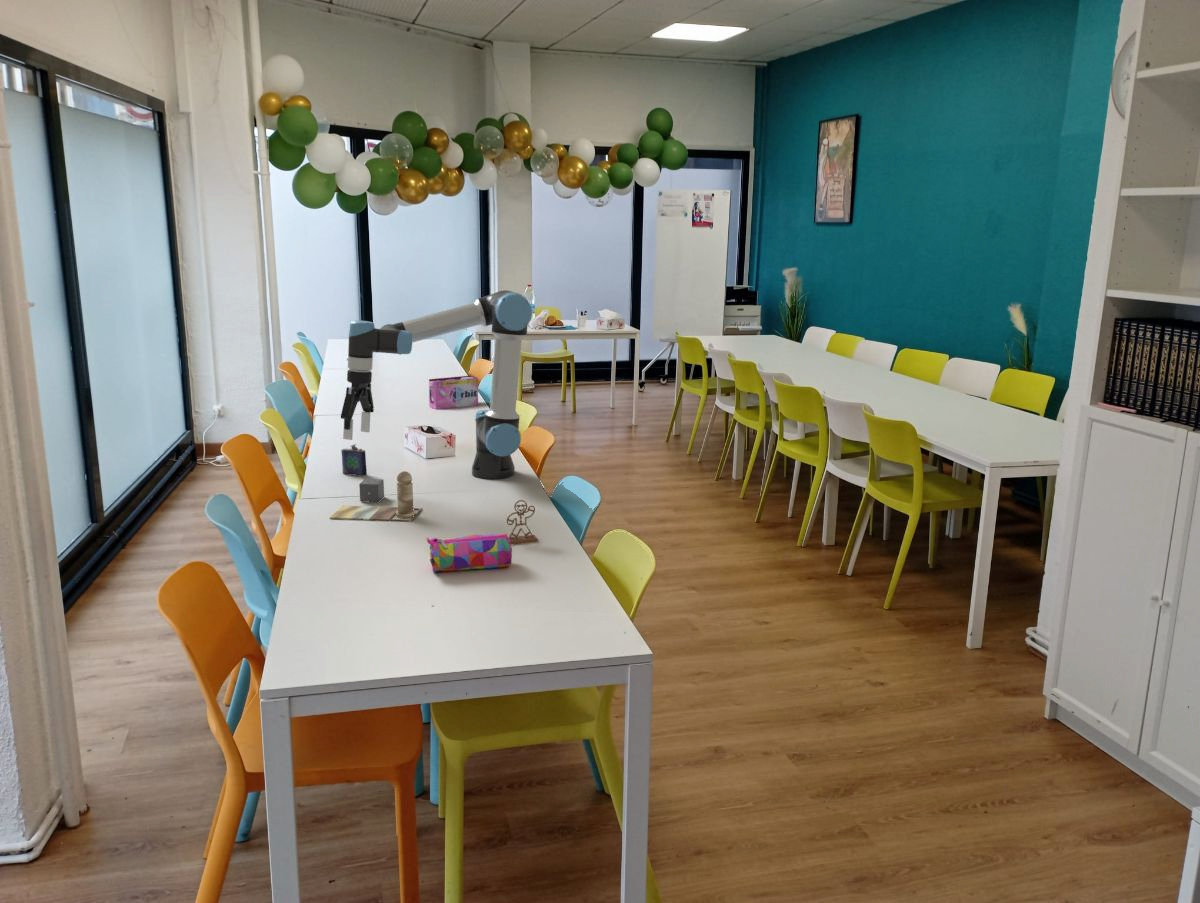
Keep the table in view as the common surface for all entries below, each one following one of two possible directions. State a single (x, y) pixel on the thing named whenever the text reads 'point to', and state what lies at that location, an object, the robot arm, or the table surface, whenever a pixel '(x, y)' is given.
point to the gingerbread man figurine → (527, 537)
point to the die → (371, 490)
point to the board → (368, 513)
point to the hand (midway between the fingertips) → (356, 435)
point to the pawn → (405, 495)
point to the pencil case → (470, 552)
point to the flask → (354, 461)
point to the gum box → (453, 392)
